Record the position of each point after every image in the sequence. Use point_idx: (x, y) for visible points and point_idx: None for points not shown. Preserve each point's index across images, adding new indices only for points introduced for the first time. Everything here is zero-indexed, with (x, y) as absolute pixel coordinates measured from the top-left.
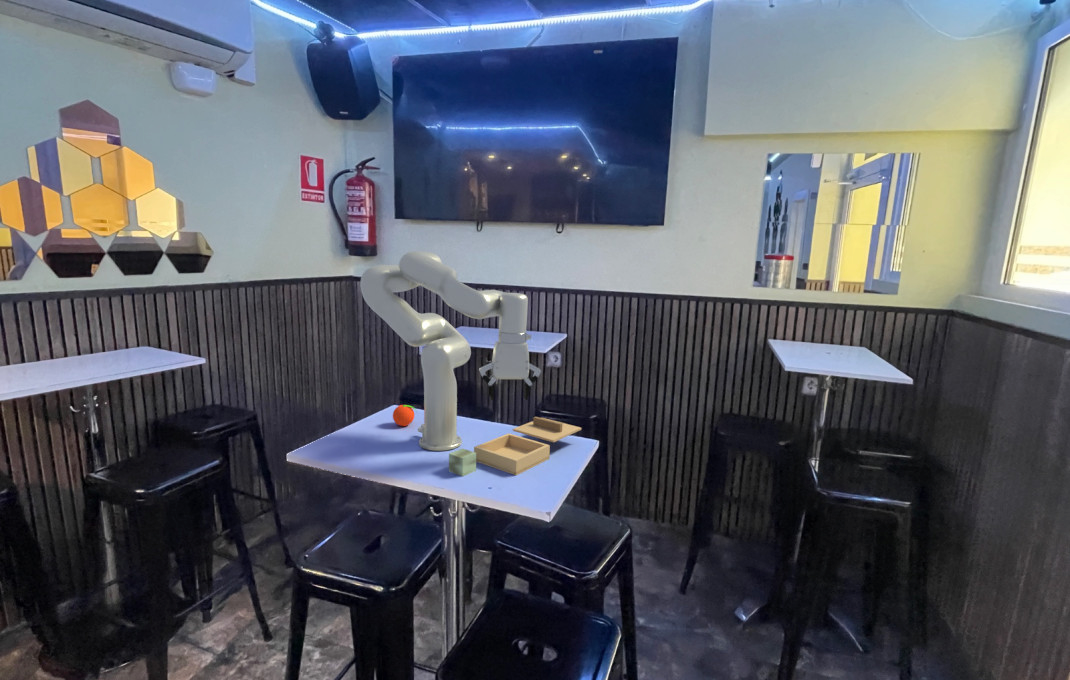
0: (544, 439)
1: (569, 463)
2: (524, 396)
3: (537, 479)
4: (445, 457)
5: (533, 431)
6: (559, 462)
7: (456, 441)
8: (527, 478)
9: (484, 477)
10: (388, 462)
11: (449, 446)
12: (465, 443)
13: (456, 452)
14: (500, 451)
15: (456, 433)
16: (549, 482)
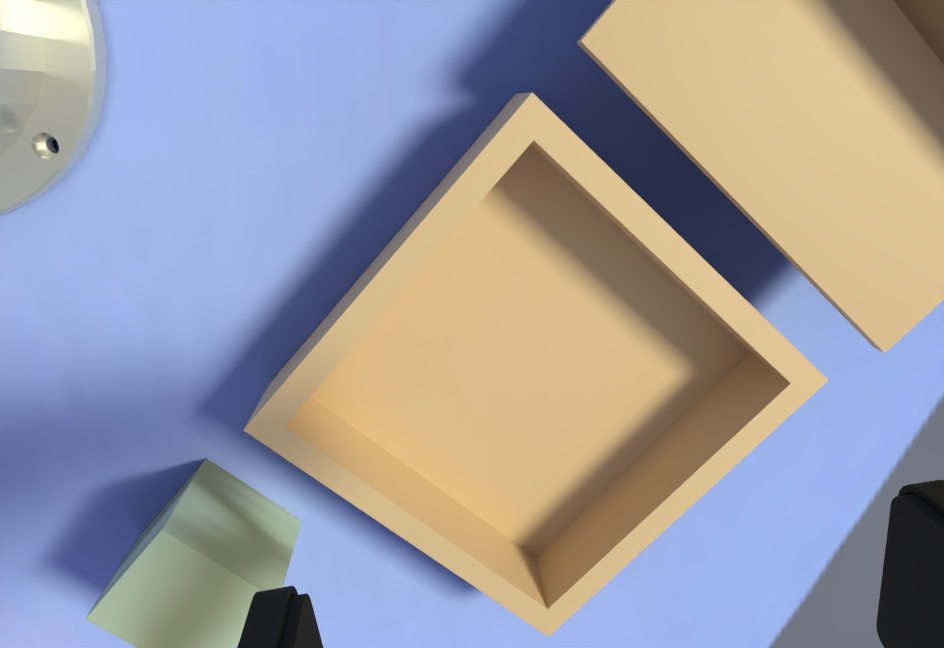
0: (820, 290)
1: (876, 408)
2: (903, 583)
3: (640, 606)
4: (54, 330)
5: (774, 122)
6: (820, 395)
7: (52, 71)
8: (590, 598)
9: (359, 597)
10: None
11: (25, 198)
12: (141, 21)
13: (134, 599)
14: (449, 272)
15: (3, 30)
16: (694, 633)
